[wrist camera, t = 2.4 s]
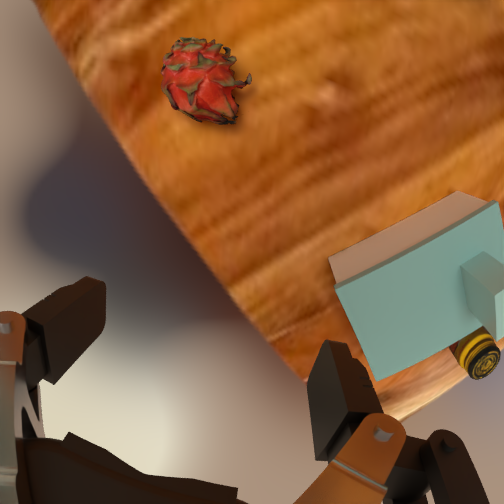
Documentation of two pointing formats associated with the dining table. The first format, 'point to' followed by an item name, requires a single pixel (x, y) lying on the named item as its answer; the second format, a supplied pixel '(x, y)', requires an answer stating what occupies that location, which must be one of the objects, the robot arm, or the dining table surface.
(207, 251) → the dining table surface
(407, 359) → the lid
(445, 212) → the tub
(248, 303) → the dining table surface
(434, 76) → the dining table surface
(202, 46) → the dragon fruit
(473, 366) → the condiment
